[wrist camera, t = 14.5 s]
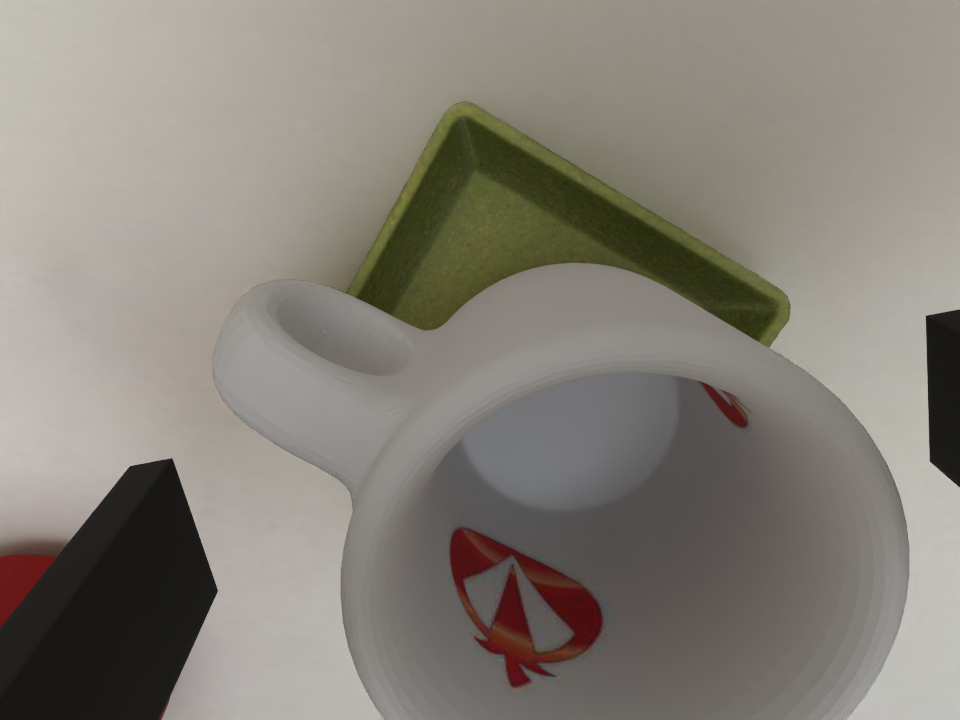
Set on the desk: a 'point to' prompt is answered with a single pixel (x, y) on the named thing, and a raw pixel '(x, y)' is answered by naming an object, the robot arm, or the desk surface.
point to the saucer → (534, 233)
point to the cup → (581, 502)
